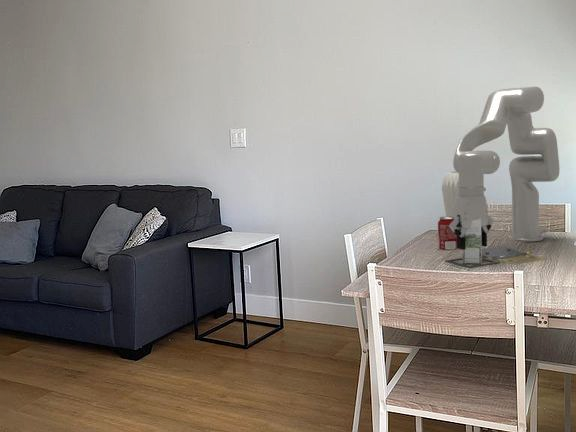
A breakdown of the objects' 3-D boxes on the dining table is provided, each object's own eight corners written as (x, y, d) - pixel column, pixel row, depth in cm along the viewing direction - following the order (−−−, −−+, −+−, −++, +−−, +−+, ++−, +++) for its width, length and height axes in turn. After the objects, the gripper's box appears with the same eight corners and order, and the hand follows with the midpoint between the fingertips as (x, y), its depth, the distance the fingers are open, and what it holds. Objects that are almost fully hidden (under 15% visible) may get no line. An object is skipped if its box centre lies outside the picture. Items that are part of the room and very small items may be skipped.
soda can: (458, 252, 216) (457, 218, 214) (438, 252, 217) (438, 219, 216) (457, 248, 222) (456, 216, 221) (438, 248, 224) (437, 216, 222)
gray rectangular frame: (474, 259, 202) (474, 256, 202) (499, 265, 191) (499, 261, 191) (445, 264, 198) (445, 260, 197) (469, 270, 187) (469, 266, 187)
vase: (458, 241, 237) (457, 173, 234) (435, 237, 249) (434, 172, 246) (484, 237, 243) (483, 171, 240) (460, 233, 255) (459, 170, 252)
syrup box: (482, 260, 196) (481, 216, 194) (481, 264, 191) (480, 218, 189) (463, 260, 198) (462, 216, 196) (462, 264, 193) (461, 218, 191)
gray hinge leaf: (504, 247, 212) (505, 243, 211) (526, 256, 202) (527, 252, 202) (471, 252, 206) (472, 248, 206) (493, 262, 197) (493, 257, 197)
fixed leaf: (528, 255, 204) (528, 251, 204) (553, 260, 194) (553, 256, 194) (485, 262, 197) (485, 257, 197) (509, 267, 188) (509, 262, 187)
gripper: (485, 189, 198) (485, 242, 201) (440, 193, 192) (442, 249, 194) (501, 190, 191) (502, 245, 194) (456, 195, 185) (457, 252, 187)
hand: (472, 247), depth 194 cm, fingers closed on syrup box, 7 cm apart
